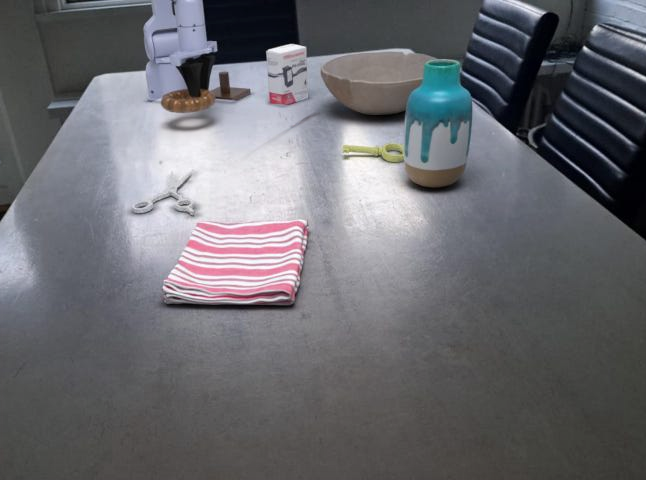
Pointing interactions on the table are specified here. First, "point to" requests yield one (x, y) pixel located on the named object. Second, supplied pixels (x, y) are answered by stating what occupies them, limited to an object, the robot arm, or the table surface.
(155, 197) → the scissors
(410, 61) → the bowl
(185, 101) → the brown beaded ring
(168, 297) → the dish towel
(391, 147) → the key
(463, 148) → the vase
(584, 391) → the table surface
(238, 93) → the brown peg stand
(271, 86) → the ink box
